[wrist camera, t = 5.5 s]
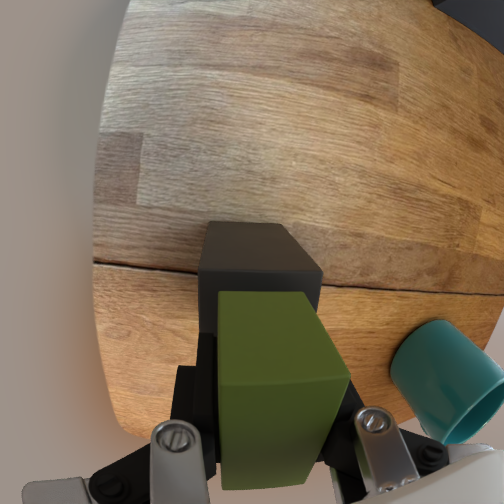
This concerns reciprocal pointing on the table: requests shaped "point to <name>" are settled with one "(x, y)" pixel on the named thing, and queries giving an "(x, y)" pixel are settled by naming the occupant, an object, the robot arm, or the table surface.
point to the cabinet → (478, 17)
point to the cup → (447, 382)
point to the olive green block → (274, 388)
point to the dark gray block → (252, 266)
